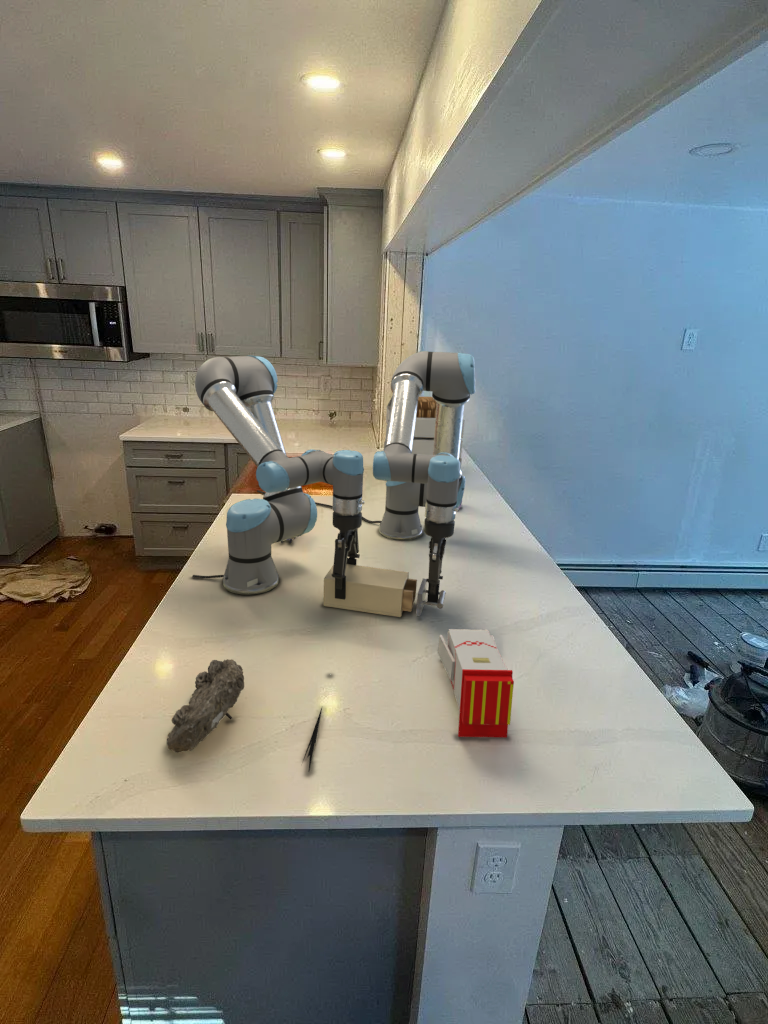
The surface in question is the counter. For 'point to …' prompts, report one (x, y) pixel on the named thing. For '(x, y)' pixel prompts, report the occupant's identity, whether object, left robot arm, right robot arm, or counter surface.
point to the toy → (478, 682)
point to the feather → (313, 740)
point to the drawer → (410, 596)
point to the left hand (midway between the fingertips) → (345, 588)
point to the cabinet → (368, 590)
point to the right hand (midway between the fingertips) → (432, 602)
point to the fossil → (206, 705)
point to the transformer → (425, 427)
